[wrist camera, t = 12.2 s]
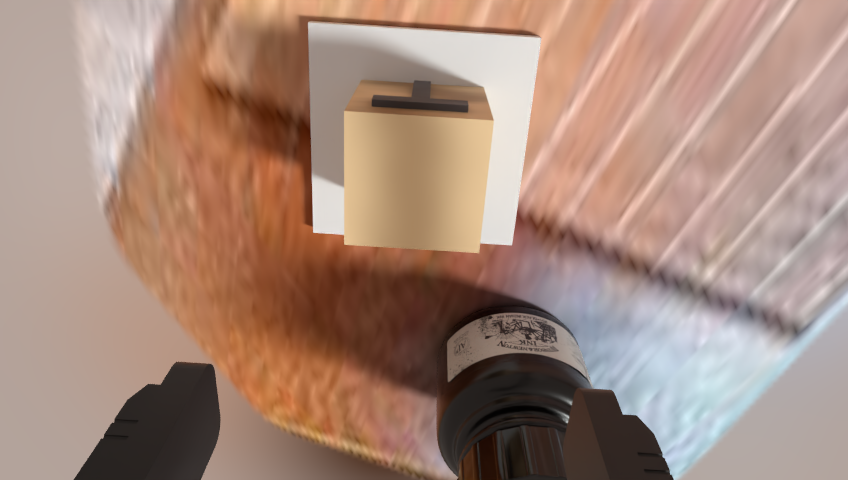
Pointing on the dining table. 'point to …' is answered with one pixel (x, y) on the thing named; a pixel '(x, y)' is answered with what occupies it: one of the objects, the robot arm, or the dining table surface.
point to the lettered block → (416, 165)
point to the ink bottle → (507, 394)
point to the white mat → (405, 62)
